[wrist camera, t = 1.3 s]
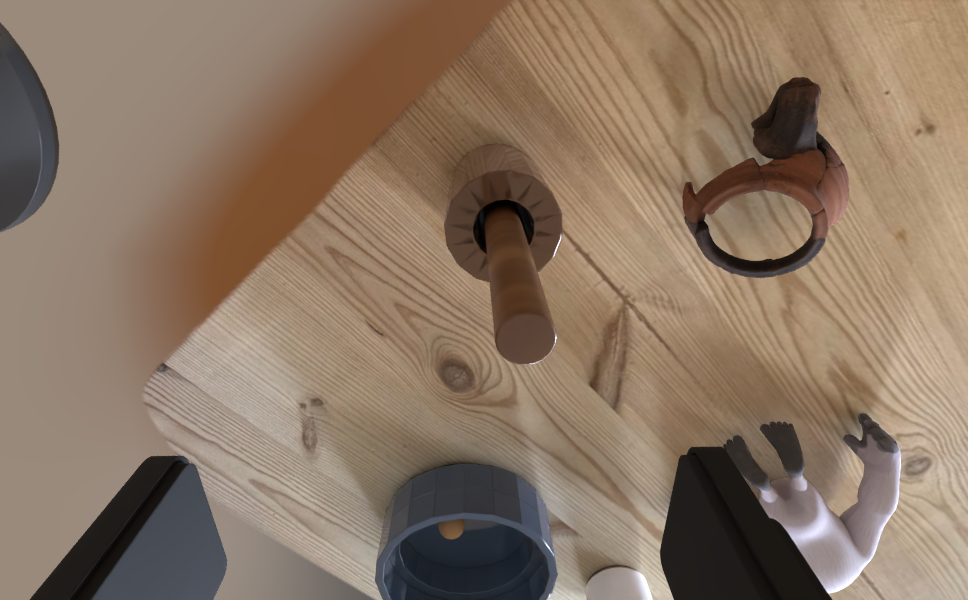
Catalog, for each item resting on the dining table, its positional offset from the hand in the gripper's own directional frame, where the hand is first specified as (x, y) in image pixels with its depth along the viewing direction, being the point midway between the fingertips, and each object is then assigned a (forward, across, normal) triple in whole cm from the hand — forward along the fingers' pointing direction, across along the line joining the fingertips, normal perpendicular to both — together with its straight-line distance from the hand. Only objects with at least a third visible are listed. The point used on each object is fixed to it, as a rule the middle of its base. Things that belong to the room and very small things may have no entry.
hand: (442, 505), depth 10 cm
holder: (+27, -2, 0) cm, 27 cm away
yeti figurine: (+28, -29, +30) cm, 50 cm away
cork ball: (+26, +2, +30) cm, 40 cm away
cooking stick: (+27, -2, 0) cm, 27 cm away
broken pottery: (+28, -20, -1) cm, 34 cm away
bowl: (+27, +1, +32) cm, 42 cm away
